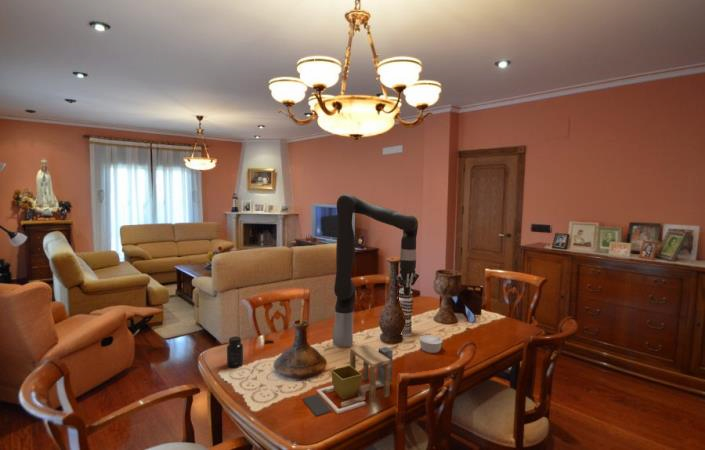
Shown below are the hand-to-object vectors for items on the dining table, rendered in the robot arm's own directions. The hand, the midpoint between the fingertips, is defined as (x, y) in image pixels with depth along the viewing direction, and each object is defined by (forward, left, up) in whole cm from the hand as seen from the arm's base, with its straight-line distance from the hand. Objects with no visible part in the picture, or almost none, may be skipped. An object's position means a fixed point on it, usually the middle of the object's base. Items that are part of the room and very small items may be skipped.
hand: (406, 294), depth 176 cm
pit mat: (-6, -58, -29) cm, 66 cm away
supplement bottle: (-55, -55, -29) cm, 83 cm away
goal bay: (-2, -49, -29) cm, 57 cm away
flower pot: (-2, -46, -29) cm, 55 cm away
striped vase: (-12, +24, -29) cm, 40 cm away
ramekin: (+8, +13, -29) cm, 33 cm away
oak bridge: (+3, -38, -29) cm, 48 cm away
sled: (+2, -41, -29) cm, 50 cm away
